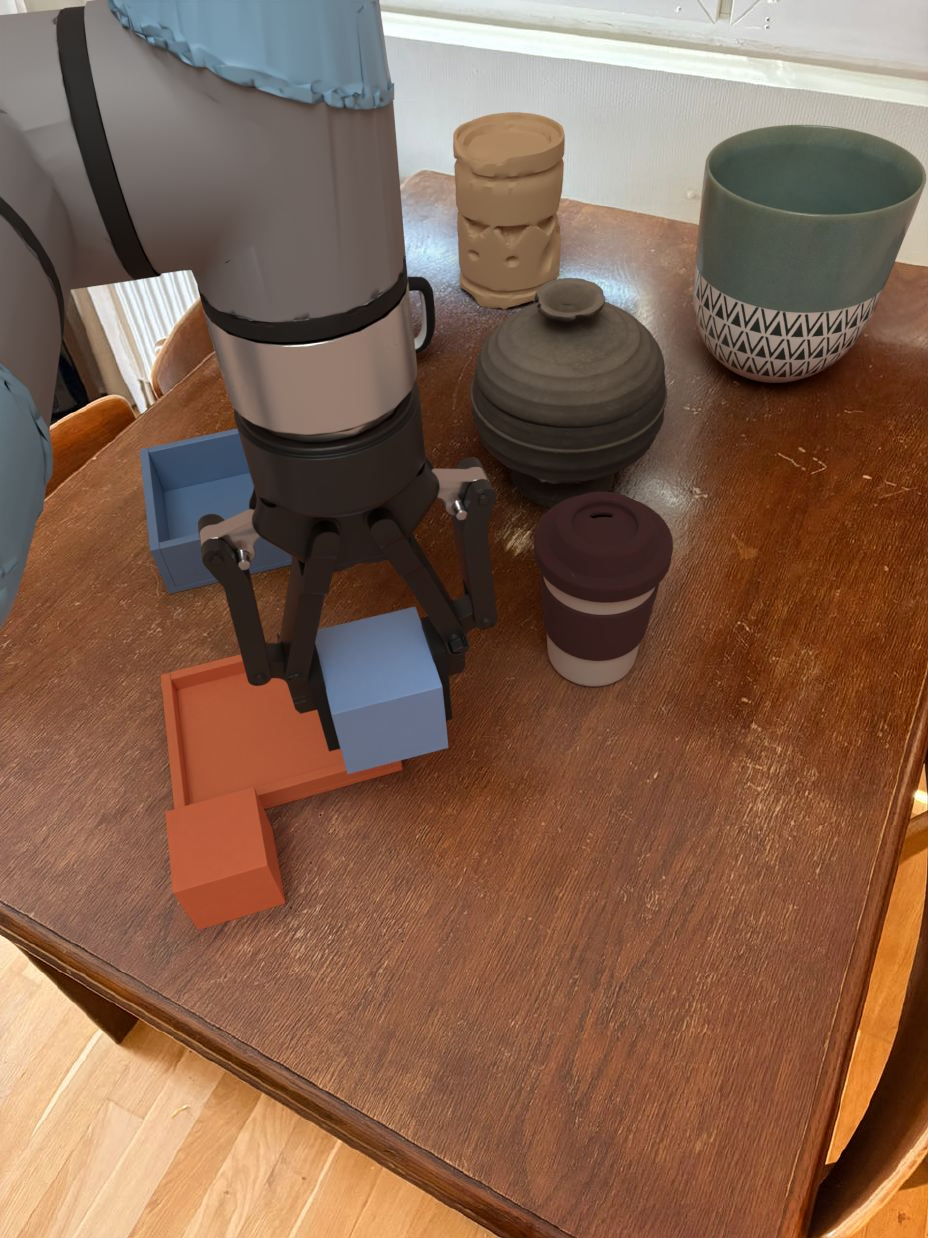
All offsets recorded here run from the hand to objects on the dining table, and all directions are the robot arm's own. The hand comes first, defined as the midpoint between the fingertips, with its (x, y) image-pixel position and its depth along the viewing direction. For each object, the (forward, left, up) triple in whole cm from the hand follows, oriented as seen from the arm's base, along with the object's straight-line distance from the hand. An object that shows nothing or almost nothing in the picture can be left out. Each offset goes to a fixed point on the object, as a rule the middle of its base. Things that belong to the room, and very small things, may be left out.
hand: (386, 716), depth 53 cm
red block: (-12, 0, -15) cm, 19 cm away
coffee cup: (+19, +11, -15) cm, 26 cm away
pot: (+25, +33, -15) cm, 44 cm away
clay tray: (-7, +12, -15) cm, 20 cm away
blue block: (0, 0, 0) cm, 0 cm away
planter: (+53, +43, -15) cm, 70 cm away
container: (+32, +70, -15) cm, 78 cm away
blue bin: (-7, +37, -15) cm, 41 cm away
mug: (+9, +58, -15) cm, 61 cm away
